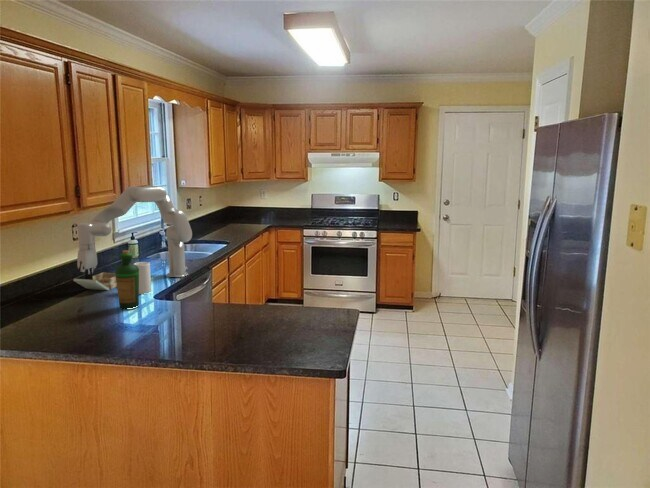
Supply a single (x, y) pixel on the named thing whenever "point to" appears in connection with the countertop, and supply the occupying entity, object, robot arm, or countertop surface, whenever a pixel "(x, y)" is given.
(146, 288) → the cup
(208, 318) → the countertop surface
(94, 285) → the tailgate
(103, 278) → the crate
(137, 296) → the bottle
